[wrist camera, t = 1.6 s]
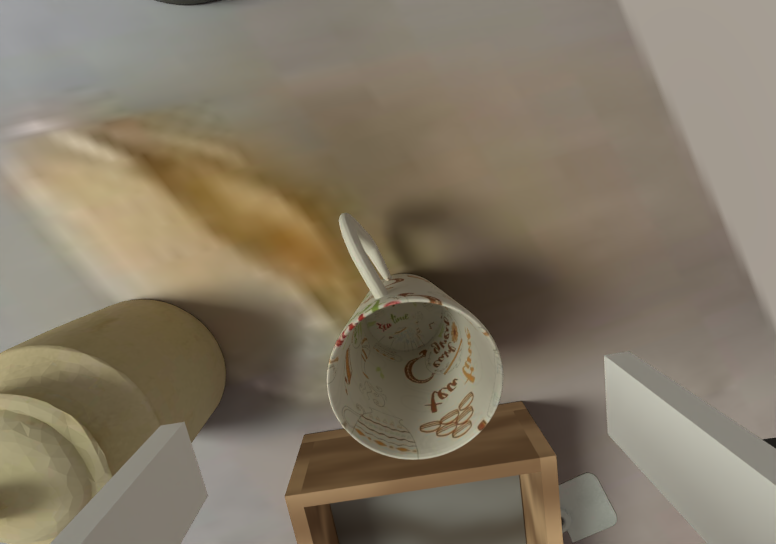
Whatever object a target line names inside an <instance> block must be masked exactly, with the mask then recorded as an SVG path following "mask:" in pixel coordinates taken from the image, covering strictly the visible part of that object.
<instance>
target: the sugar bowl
mask: <svg viewBox="0 0 776 544" xmlns="http://www.w3.org/2000/svg"><path fill="white" fill-rule="evenodd" d="M225 379H226V368H225V362H224V358H223V355H222V352H221V350H220V347H219V345H218V343H217V341H216V340H215V338H214V337H213V335H212V334H211V333H210V331H209V330H208V329H207V328H206V327H205V326H204V325H203V324H202V323H201V322H200V321H199V320H198V319H196V318H195V317H194V316H192V315H191V314H189V313H187V312H186V311H184V310H182V309H180V308H179V307H176V306H174V305H171V304H168V303H165V302H161V301H156V300H142V299H139V300H130V301H123V302H120V303H117V304H114V305H111V306H108V307H106V308H104V309H101V310H99V311H96V312H94V313H91V314H89V315H86V316H84V317H81V318H79V319H76V320H74V321H71V322H69V323H66V324H64V325H61V326H59V327H56V328H54V329H52V330H50V331H47V332H45V333H43V334H41V335H38V336H36V337H34V338H32V339H29V340H27V341H25V342H23V343H21V344H19V345H16V346H14V347H12V348H10V349H8V350H6V351H4V352H2V353H0V542H3V543H8V544H50V543H51V542H52V541H53V540H54V539H55V538H56V537H57V536H58V535H59V534H60V532H61V531H62V530H63V529H64V528H65V527H66V526H67V525H68V524H69V523H70V522H71V521H72V520H73V519H74V517H75V516H76V515H77V514H78V513H79V512H80V511H81V510H82V509H83V508H84V507H85V506H86V505H87V504H88V503H89V501H90V500H91V499H92V498H93V497H94V496H95V495H96V494H97V493H98V492H99V491H100V490H101V489H102V488H103V487H104V485H105V484H106V483H107V482H108V481H109V480H110V479H111V478H112V477H113V476H114V475H115V474H116V473H117V472H118V471H119V469H120V468H121V467H122V466H123V465H124V464H125V463H126V462H127V461H128V460H129V459H130V458H131V457H132V456H133V455H134V453H135V452H136V451H137V450H138V449H139V448H140V447H141V446H142V445H143V444H144V443H145V442H146V441H147V440H148V439H149V437H150V436H151V435H152V434H153V433H154V432H155V431H156V430H157V429H158V428H159V427H160V426H161V425H167V424H174V423H180V422H185V425H186V428H187V431H188V435H189V438H190V441H191V443H192V441H193V440H194V439H195V437H196V436H197V434H198V433H199V432H200V430H201V429H202V427H203V426H204V424H205V423H206V422H207V420H208V419H209V417H210V416H211V415H212V413H213V412H214V410H215V409H216V407H217V406H218V404H219V402H220V400H221V398H222V395H223V391H224V388H225Z"/></svg>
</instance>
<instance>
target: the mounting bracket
mask: <svg viewBox="0 0 776 544" xmlns="http://www.w3.org/2000/svg"><path fill="white" fill-rule="evenodd" d="M559 497H560V510H561V518H562V534H563V533H564V532H566V531H568V533H569V535H570V537H571V540H572V542H573V543H574V542H576V541H579V540H581V539H583V538H586V537H588V536H590V535H592V534H595V533H597V532H599V531H602V530H604V529H606V528H609V527H611V526H613V525H615V523H616V521H617V516H616V513H615V511H614V510H613V508H612V506H611V504H610V502H609V500H608V498H607V496H606V494H605V492H604V490H603V489H602V487H601V485H600V483H599V481H598V479H597V478H596V476H595V475H593V474H591V473H584V474H582V475H580V476H578V477H575V478H573V479H571V480H569V481H567V482H565V483H563V484H561V485H559Z"/></svg>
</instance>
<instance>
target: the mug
mask: <svg viewBox="0 0 776 544" xmlns="http://www.w3.org/2000/svg"><path fill="white" fill-rule="evenodd" d="M339 224H340V229H341V233H342V236H343V238H344V241H345V244H346V246H347V249H348V251H349V253H350V255H351V257H352V259H353V261H354V263H355V265H356V267H357V268H358V270H359V272H360V274H361V276H362V277H363V279H364V281H365V282H366V284H367V286H368V288H369V289H370V291H369V293H368V294H367V295H366V297H365V298H364V300H363V301H362V303H361V304H360V306H359V307H358V309H357V310H356V312H355V313H354V315H353V316H352V317H351V319H350V320H349V322H348V323H347V325H346V326H345V328H344V329H343V331H342V332H341V334H340V336H339V337H338V339H337V341H336V343H335V345H334V347H333V350H332V352H331V356H330V359H329V363H328V368H327V390H328V396H329V400H330V404H331V406H332V409H333V412H334V413H335V415H336V417H337V419H338V421H339V422H340V423H341V425H342V426H343V428H344V429H345V430H346V431H347V432H348V433H349V434H350V435H351V436H352V437H353V438H354V439H355V440H357V441H358V442H359V443H361V444H362V445H364V446H365V447H367V448H369V449H371V450H373V451H375V452H377V453H380V454H382V455H386V456H389V457H393V458H399V459H410V460H417V459H428V458H433V457H438V456H441V455H444V454H447V453H449V452H452V451H454V450H456V449H458V448H460V447H462V446H463V445H465V444H467V443H468V442H469V441H471V440H472V439H473V438H474V437H476V436H477V435H478V434H479V433H480V432H481V431H482V430H483V429H484V427H485V426H486V425H487V424H488V422H489V421H490V419H491V418H492V416H493V415H494V413H495V411H496V409H497V406H498V404H499V401H500V398H501V394H502V389H503V366H502V361H501V357H500V353H499V350H498V348H497V345H496V343H495V341H494V339H493V338H492V336H491V335H490V333H489V332H488V330H487V329H486V328H485V326H484V325H483V324H482V323H481V322H480V321H479V320H478V319H477V318H476V317H475V316H474V315H473V314H472V313H471V312H469V311H468V310H467V309H466V308H464V307H463V306H462V305H460V304H459V303H458V302H456V301H455V300H454V299H452V298H451V297H450V296H448V295H447V294H446V293H444V292H443V291H442V290H440V289H439V288H438V287H437V286H435V285H434V284H433V283H431V282H430V281H428V280H426V279H425V278H423V277H420V276H417V275H413V274H397V275H392V276H391V275H390V273H389V270H388V268H387V266H386V264H385V262H384V260H383V258H382V256H381V254H380V252H379V249H378V247H377V245H376V243H375V242H374V240H373V239H372V237H371V236H370V235H369V234H368V233H367V231H366V230H365V229H364V228H363V227H362V226H361V225H360V224H359V223H358V222H357V221H356V220H355V218H354V217H352V216H351V215H350V214H348V213H342V214H341V215H340V218H339ZM366 253H367V254H366ZM367 255H368V256H369V257H370V259H371V260H372V262H373V263H374V265H375V267H376V268H377V270H378V271H379V273H380V274H381V276H382V277H383V278H384V279H383V280H381V279H380V278H379V276H378V274H377V272H376V271H375V269H374V267H373V265H372V264H371V262H370V260H369V258H368V256H367Z"/></svg>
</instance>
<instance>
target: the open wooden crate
mask: <svg viewBox="0 0 776 544" xmlns="http://www.w3.org/2000/svg"><path fill="white" fill-rule="evenodd" d="M285 500H286V503H287V507H288V511H289V514H290V518H291V522H292V526H293V529H294V533H295V537H296V540H297V544H563V536H562V523H561V510H560V497H559V484H558V471H557V459H556V454H555V453H554V451H553V450H552V448H551V446H550V445H549V443H548V442H547V440H546V439H545V437H544V436H543V434H542V432H541V431H540V429H539V428H538V426H537V425H536V423H535V422H534V420H533V418H532V417H531V415H530V414H529V412H528V411H527V409H526V407H525V406H524V404H523V403H522V401H520V402H513V403H507V404H500V405H498V406H497V409H496V411H495V413H494V415H493V416H492V418H491V419H490V421H489V422H488V424H487V425H486V426H485V427H484V429H483V430H482V431H481V432H480V433H479V434H478V435H477V436H476V437H474V438H473V439H472V440H471V441H469V442H468V443H467V444H465V445H463V446H462V447H460V448H458V449H456V450H454V451H452V452H449V453H447V454H444V455H441V456H438V457H433V458H428V459H417V460H410V459H399V458H393V457H389V456H386V455H382V454H380V453H377V452H375V451H373V450H371V449H369V448H367V447H365V446H364V445H362V444H361V443H359V442H358V441H357V440H355V439H354V438H353V437H352V436H351V435H350V434H349V433H348V432H347V431H346V430H345V429H339V430H333V431H326V432H320V433H313V434H307V435H304V437H303V440H302V444H301V447H300V450H299V453H298V456H297V459H296V462H295V466H294V469H293V472H292V475H291V478H290V481H289V484H288V488H287V491H286V494H285Z"/></svg>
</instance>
